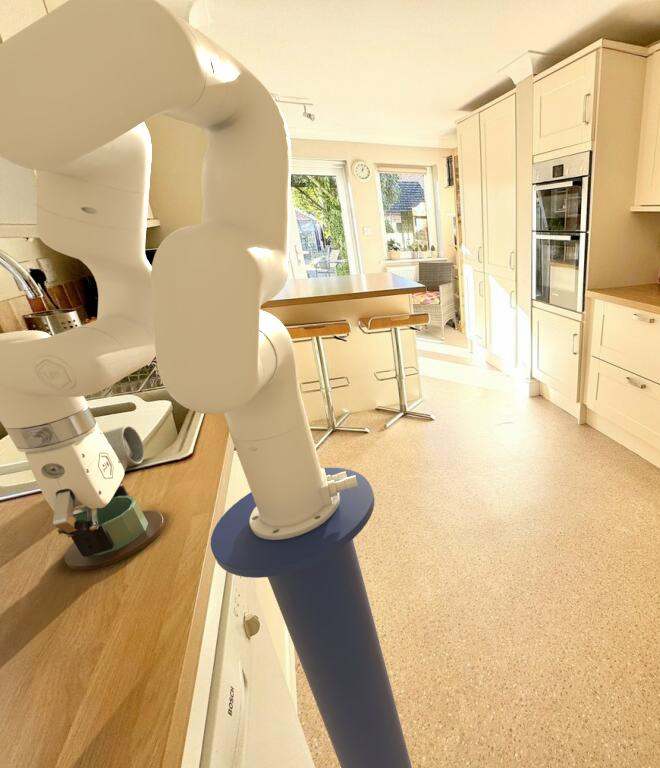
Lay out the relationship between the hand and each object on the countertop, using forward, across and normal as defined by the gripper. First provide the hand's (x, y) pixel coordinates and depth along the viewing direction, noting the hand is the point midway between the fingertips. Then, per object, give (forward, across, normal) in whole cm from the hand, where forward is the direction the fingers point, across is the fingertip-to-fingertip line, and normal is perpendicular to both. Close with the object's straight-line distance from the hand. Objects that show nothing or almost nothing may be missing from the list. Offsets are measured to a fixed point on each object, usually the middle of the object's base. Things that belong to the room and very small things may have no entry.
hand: (110, 529), depth 60 cm
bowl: (+1, 0, 0) cm, 1 cm away
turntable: (+2, 0, 0) cm, 2 cm away
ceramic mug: (+2, +24, +6) cm, 25 cm away
